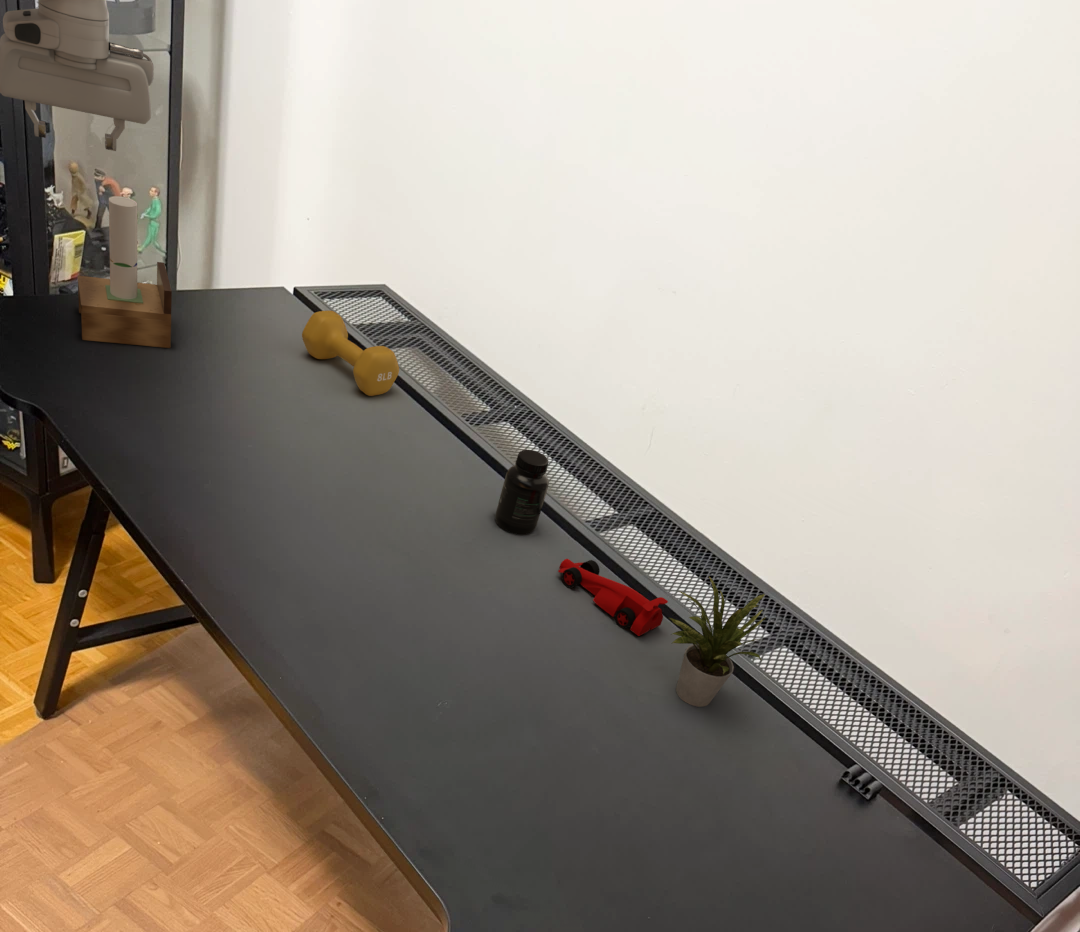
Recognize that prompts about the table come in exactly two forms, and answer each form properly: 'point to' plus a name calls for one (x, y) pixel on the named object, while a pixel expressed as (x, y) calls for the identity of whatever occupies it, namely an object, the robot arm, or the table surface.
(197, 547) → the table surface
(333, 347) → the dumbbell
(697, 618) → the house plant
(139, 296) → the wooden stand base
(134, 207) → the tube
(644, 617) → the toy car
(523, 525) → the supplement bottle
